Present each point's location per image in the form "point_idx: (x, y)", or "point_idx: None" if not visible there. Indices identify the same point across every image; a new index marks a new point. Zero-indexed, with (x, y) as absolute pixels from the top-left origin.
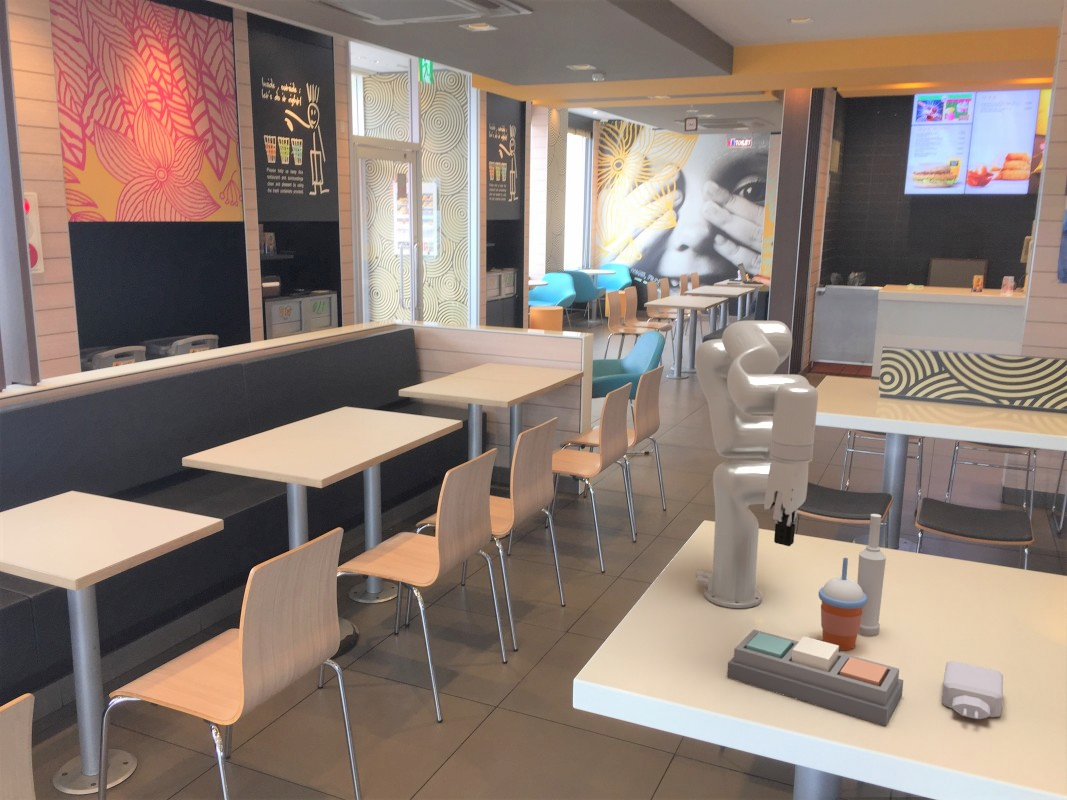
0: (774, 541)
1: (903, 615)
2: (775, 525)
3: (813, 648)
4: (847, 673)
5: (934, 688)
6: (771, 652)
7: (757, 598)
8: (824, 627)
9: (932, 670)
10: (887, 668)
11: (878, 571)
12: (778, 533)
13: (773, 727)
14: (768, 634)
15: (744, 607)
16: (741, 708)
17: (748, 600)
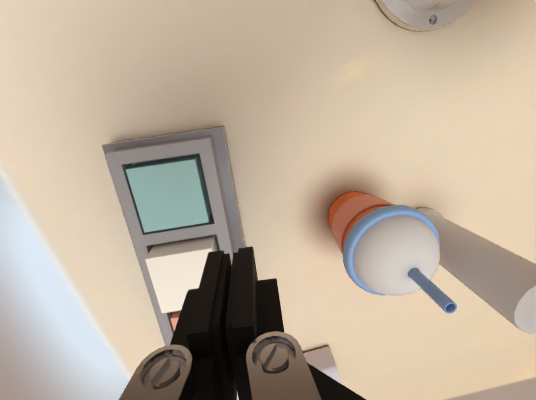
0: (209, 253)
1: (503, 240)
2: (191, 317)
3: (179, 280)
4: (173, 327)
5: (305, 342)
6: (140, 216)
7: (435, 20)
8: (339, 211)
9: (350, 325)
10: None
11: (494, 308)
12: (182, 316)
13: (54, 260)
14: (211, 171)
15: (387, 15)
16: (55, 206)
17: (412, 10)
